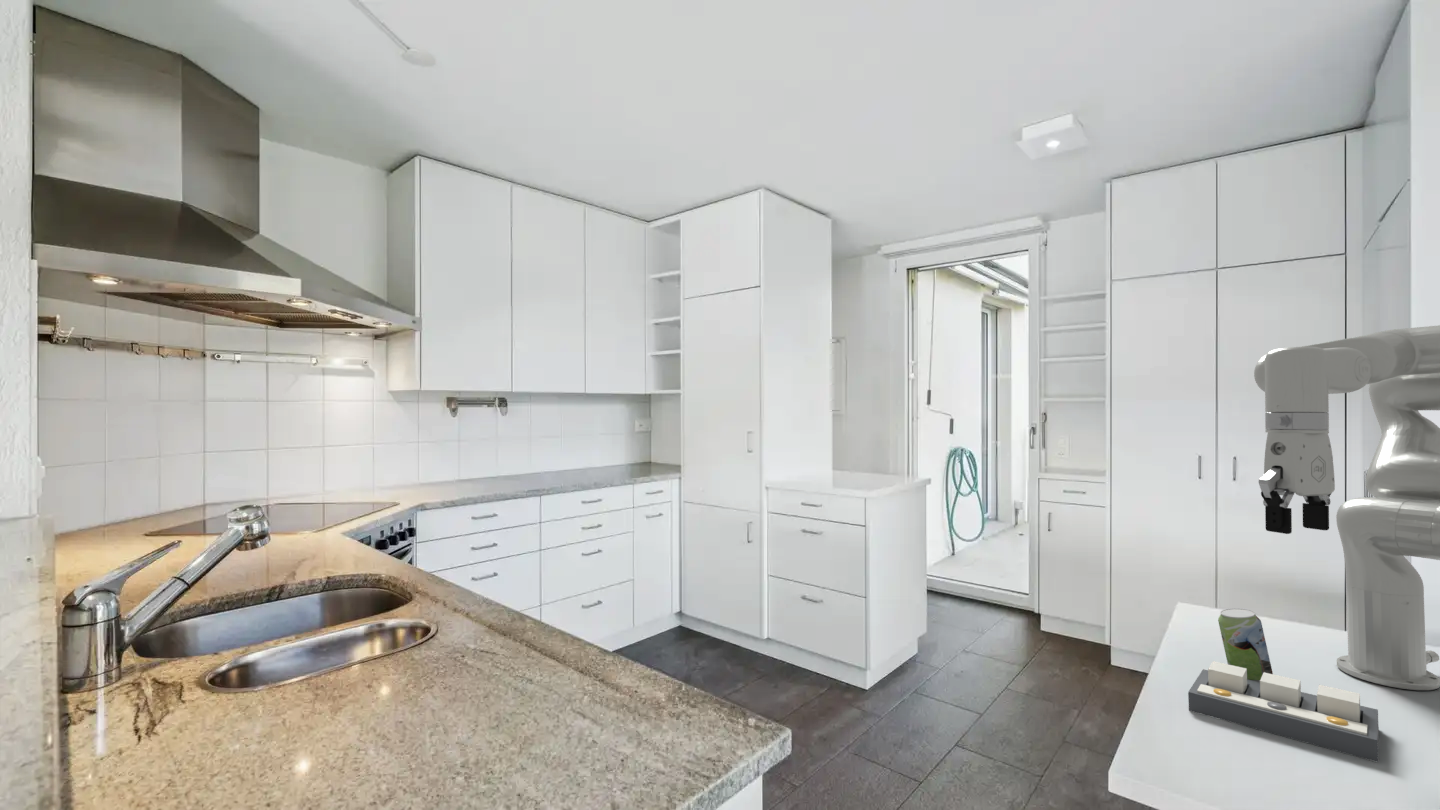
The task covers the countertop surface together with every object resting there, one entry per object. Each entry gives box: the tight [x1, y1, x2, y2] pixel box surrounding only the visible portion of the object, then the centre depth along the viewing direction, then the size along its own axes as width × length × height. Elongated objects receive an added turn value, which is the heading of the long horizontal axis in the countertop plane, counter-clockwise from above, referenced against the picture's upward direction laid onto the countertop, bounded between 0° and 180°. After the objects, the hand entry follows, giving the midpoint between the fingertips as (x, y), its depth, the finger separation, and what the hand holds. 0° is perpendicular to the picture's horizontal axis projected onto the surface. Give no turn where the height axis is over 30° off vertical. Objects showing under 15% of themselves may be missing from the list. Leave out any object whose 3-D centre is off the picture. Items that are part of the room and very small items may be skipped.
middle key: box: [1260, 672, 1302, 707], centre depth 98 cm, size 4×4×3 cm
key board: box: [1187, 668, 1380, 763], centre depth 97 cm, size 12×21×4 cm, turn 43°
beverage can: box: [1217, 608, 1274, 682], centre depth 111 cm, size 6×7×12 cm
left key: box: [1207, 660, 1247, 694], centre depth 103 cm, size 4×4×3 cm
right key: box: [1316, 684, 1361, 722], centre depth 93 cm, size 4×4×3 cm
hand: (1297, 530), depth 100 cm, fingers open, 9 cm apart
